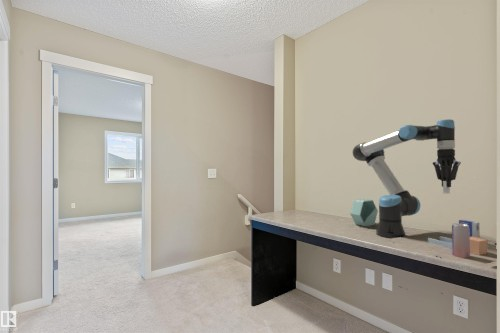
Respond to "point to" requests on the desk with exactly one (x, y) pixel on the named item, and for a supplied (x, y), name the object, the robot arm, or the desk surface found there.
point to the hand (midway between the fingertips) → (446, 193)
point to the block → (478, 246)
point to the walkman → (472, 228)
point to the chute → (442, 242)
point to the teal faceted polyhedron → (364, 212)
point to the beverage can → (461, 240)
